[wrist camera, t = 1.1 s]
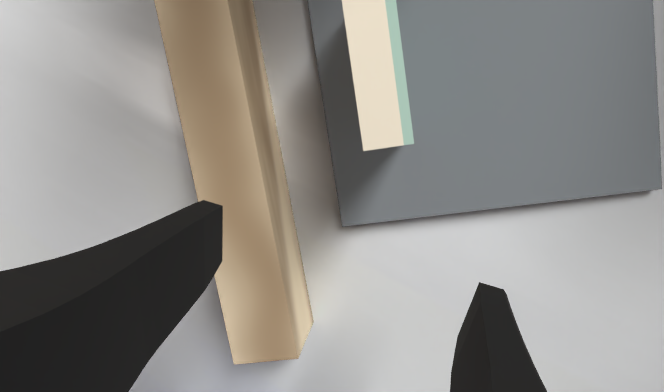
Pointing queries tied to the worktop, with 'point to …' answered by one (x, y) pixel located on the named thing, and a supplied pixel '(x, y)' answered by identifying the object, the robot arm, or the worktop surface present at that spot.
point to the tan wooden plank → (239, 172)
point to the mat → (499, 106)
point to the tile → (378, 73)
